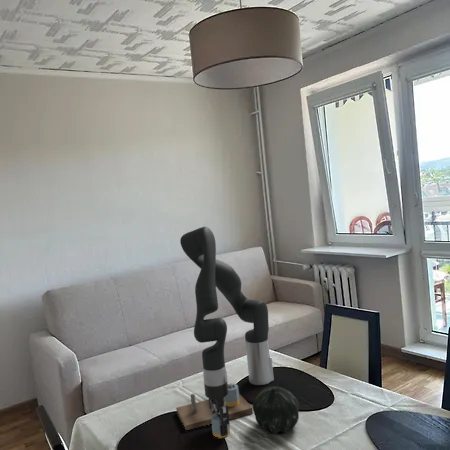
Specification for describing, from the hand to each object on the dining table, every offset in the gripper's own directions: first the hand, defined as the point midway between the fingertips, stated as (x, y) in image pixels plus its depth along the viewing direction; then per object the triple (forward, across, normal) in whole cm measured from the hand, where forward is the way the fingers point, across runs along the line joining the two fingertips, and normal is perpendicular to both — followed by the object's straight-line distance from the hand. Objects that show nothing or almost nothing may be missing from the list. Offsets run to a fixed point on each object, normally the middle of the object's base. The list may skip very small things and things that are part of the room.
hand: (220, 429), depth 144 cm
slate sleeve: (+1, 0, 0) cm, 1 cm away
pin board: (+1, +14, -2) cm, 14 cm away
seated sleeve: (-1, +14, -9) cm, 17 cm away
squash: (+2, -5, -18) cm, 19 cm away
